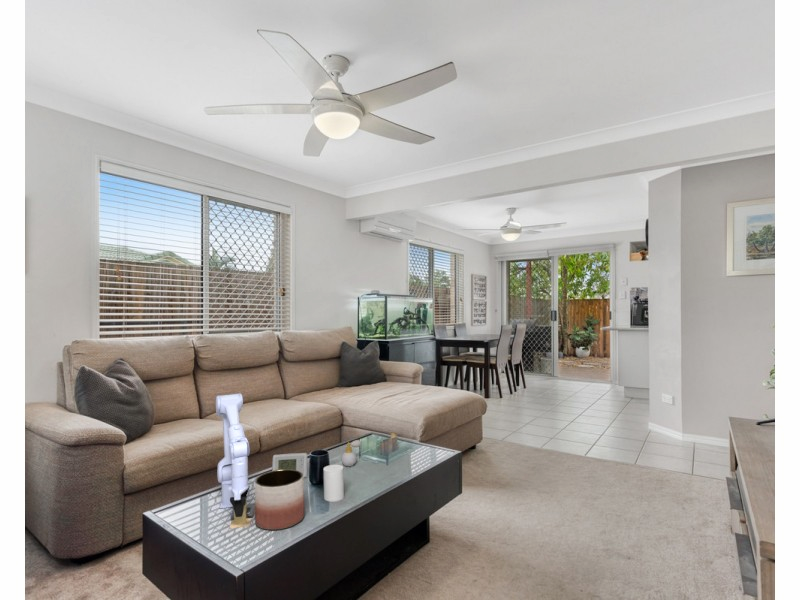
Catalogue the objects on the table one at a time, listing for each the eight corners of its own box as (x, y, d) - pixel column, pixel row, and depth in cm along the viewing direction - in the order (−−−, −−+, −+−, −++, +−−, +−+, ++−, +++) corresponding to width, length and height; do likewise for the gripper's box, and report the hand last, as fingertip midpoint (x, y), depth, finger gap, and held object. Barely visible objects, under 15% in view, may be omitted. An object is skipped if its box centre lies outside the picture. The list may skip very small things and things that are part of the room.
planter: (306, 527, 158) (305, 482, 158) (254, 535, 153) (253, 490, 153) (302, 506, 175) (302, 466, 175) (255, 513, 170) (255, 472, 170)
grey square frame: (234, 510, 173) (234, 505, 173) (255, 507, 175) (255, 503, 175) (230, 521, 164) (230, 516, 164) (253, 518, 166) (253, 513, 166)
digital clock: (270, 481, 202) (269, 457, 202) (277, 473, 211) (276, 451, 211) (304, 481, 201) (303, 457, 201) (310, 473, 210) (309, 451, 210)
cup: (336, 491, 188) (335, 463, 188) (347, 496, 182) (347, 467, 183) (320, 497, 182) (319, 468, 183) (331, 503, 177) (331, 473, 177)
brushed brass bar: (235, 520, 163) (235, 501, 163) (247, 519, 164) (246, 500, 164) (234, 525, 159) (233, 506, 159) (245, 524, 160) (245, 504, 160)
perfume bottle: (338, 465, 219) (337, 441, 219) (353, 460, 226) (352, 437, 226) (348, 469, 214) (347, 444, 214) (363, 464, 221) (362, 440, 221)
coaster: (231, 522, 163) (231, 520, 163) (251, 519, 165) (251, 517, 165) (229, 528, 158) (229, 526, 158) (249, 525, 160) (249, 524, 160)
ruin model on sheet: (393, 449, 243) (393, 432, 243) (397, 450, 241) (397, 433, 241) (379, 455, 234) (379, 437, 234) (384, 456, 232) (383, 438, 233)
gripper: (231, 468, 168) (231, 504, 168) (224, 483, 154) (225, 522, 154) (250, 466, 170) (251, 502, 169) (246, 480, 155) (246, 519, 155)
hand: (240, 511), depth 162 cm, fingers open, 7 cm apart
